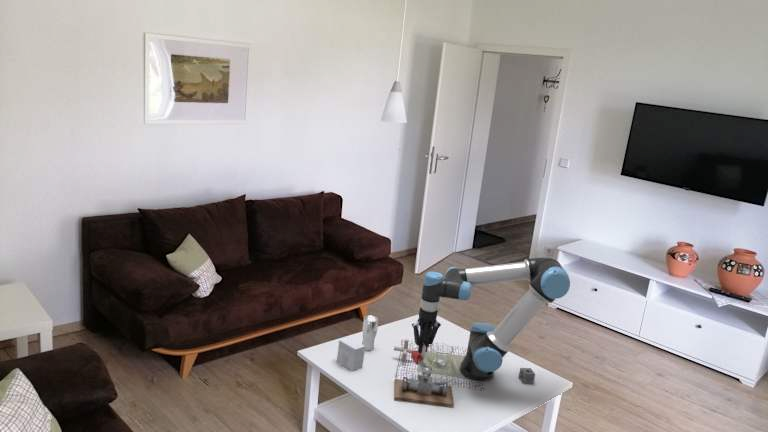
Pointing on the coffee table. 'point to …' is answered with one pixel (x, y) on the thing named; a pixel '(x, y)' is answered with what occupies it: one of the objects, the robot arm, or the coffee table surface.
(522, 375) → the dice cube
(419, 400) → the walnut board
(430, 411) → the coffee table surface
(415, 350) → the pipe connector
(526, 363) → the coffee table surface
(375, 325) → the beer glass
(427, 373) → the valve handle
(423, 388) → the valve body
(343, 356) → the skincare box
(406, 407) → the coffee table surface
